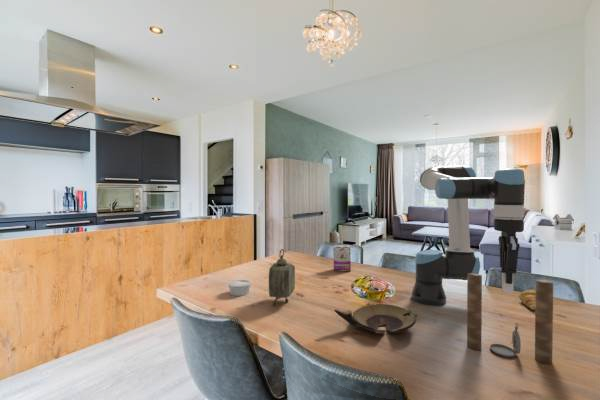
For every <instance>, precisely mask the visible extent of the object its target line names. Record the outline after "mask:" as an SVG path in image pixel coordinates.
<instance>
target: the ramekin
mask: <svg viewBox="0 0 600 400" xmlns="http://www.w3.org/2000/svg"><path fill="white" fill-rule="evenodd" d="M251 286H252V282H251V281H250V280H246V279H237V280H232V281H230V282H229V283H228V288H229V293H230V294H231V296H234V297H242V296H246V295H248V294H249V293H250V289H251Z"/></svg>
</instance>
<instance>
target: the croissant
mask: <svg viewBox="0 0 600 400" xmlns="http://www.w3.org/2000/svg"><path fill="white" fill-rule="evenodd" d="M535 296H536V289H526V290H523V291H522V292H520V293H519V294H518V298H519V300H520V301H521V302H522V304H523V305H524V306H526V307H527V308H529V309H530V310H532V311H535Z"/></svg>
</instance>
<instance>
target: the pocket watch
mask: <svg viewBox="0 0 600 400" xmlns="http://www.w3.org/2000/svg"><path fill="white" fill-rule="evenodd" d="M518 329H519V323H515V326H514V330H512V335H511V336H512V339H511V340H512V347H513V348H512V347H510V346H507V345H505V344H501V343H491V344H490V345H489V349H490V350H491V351H492V352H493V353H494V354H497V355H499V356H502V357H505V358H513V357H515V356H516V355H517V354H520V353H521V348H522V347H521V336H520V332H519V331H518Z"/></svg>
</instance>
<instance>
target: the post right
mask: <svg viewBox="0 0 600 400" xmlns="http://www.w3.org/2000/svg"><path fill="white" fill-rule="evenodd" d="M535 290H536V296H535V310H534V311H535V313H534V317H535V318H534V359H535V360H536V361H537V362H539V363H541V364H544V365H553V345H554V344H553V342H554V340H553V339H554V338H553V332H554V329H553V328H554V325H553V324H554V282H553V281H549V280H545V279H535Z"/></svg>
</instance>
